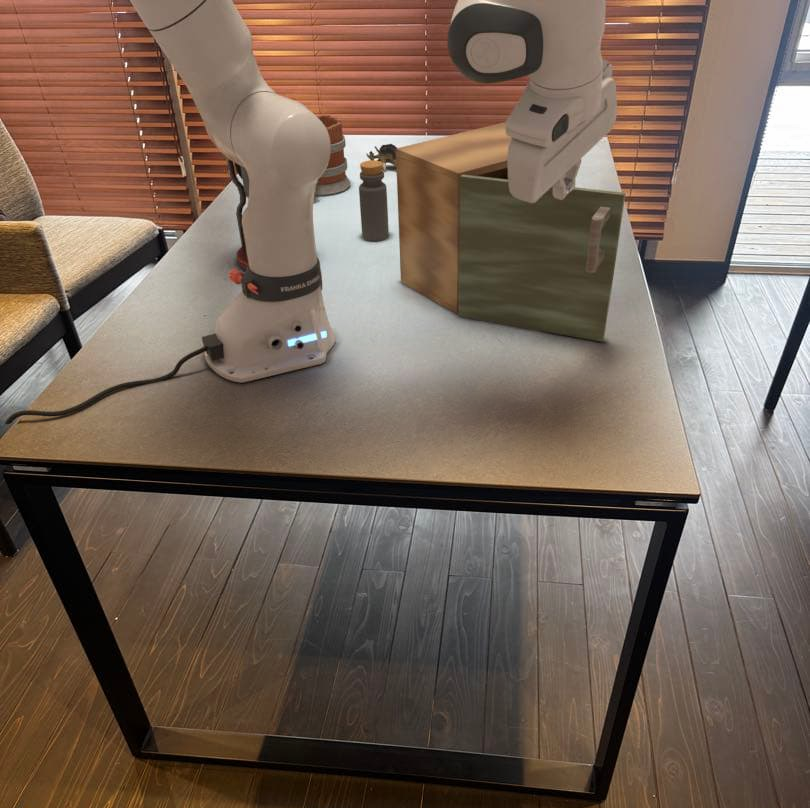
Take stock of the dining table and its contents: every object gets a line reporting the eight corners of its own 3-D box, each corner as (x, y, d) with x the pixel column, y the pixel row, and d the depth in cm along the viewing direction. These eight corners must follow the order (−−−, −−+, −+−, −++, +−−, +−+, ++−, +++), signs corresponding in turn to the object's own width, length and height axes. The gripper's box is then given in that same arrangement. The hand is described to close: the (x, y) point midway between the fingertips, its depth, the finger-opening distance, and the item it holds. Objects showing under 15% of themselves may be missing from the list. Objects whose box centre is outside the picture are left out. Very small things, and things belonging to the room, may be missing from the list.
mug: (354, 178, 203) (350, 113, 193) (341, 204, 189) (335, 136, 179) (301, 177, 205) (294, 113, 195) (284, 203, 191) (275, 136, 180)
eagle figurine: (367, 170, 204) (400, 163, 201) (364, 141, 203) (398, 134, 201) (376, 178, 211) (408, 172, 209) (373, 150, 210) (406, 144, 208)
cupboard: (563, 276, 155) (577, 141, 138) (456, 314, 144) (458, 173, 128) (503, 248, 166) (510, 120, 150) (400, 282, 155) (395, 148, 139)
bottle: (385, 242, 171) (381, 168, 161) (359, 240, 172) (354, 167, 162) (391, 231, 175) (388, 159, 165) (365, 230, 176) (360, 158, 166)
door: (593, 357, 130) (614, 207, 114) (445, 330, 139) (446, 187, 123) (604, 339, 135) (625, 192, 119) (460, 314, 144) (462, 174, 128)
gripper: (590, 47, 103) (586, 147, 115) (496, 130, 97) (502, 227, 108) (632, 57, 100) (624, 159, 112) (539, 143, 94) (540, 241, 105)
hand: (563, 193), depth 110 cm, fingers closed
